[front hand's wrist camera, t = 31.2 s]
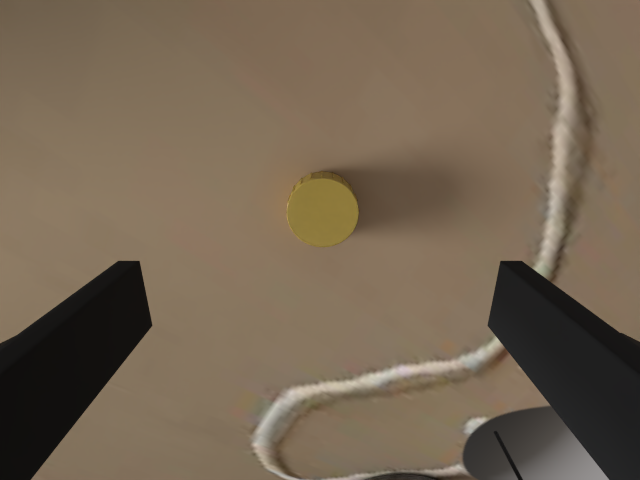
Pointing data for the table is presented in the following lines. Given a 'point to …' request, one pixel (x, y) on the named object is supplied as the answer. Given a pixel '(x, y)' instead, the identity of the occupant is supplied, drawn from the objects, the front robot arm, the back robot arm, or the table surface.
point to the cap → (322, 209)
